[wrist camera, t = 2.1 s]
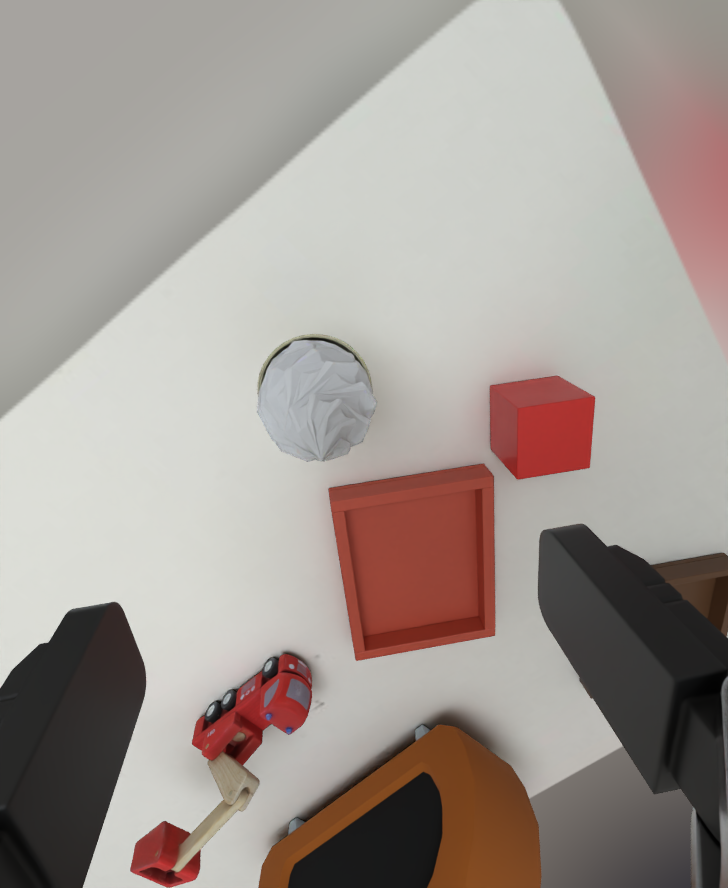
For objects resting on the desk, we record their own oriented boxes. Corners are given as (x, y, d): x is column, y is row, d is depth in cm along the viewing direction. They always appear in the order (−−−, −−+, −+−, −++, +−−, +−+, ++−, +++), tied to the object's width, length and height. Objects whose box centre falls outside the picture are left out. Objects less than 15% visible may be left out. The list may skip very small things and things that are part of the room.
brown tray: (587, 576, 39) (601, 592, 37) (723, 552, 40) (742, 567, 38) (579, 680, 44) (590, 698, 42) (701, 657, 44) (717, 674, 43)
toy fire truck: (317, 666, 39) (322, 793, 30) (193, 758, 42) (165, 900, 33) (287, 644, 38) (284, 769, 29) (162, 739, 40) (124, 883, 32)
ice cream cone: (288, 403, 31) (280, 545, 17) (253, 325, 29) (211, 416, 15) (365, 374, 31) (419, 494, 17) (335, 293, 29) (370, 355, 15)
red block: (489, 385, 32) (517, 408, 28) (557, 375, 32) (595, 396, 28) (490, 449, 34) (517, 480, 30) (555, 439, 34) (590, 468, 30)
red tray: (328, 488, 33) (330, 502, 32) (483, 463, 34) (493, 475, 32) (353, 642, 39) (355, 661, 37) (486, 618, 40) (495, 636, 38)
